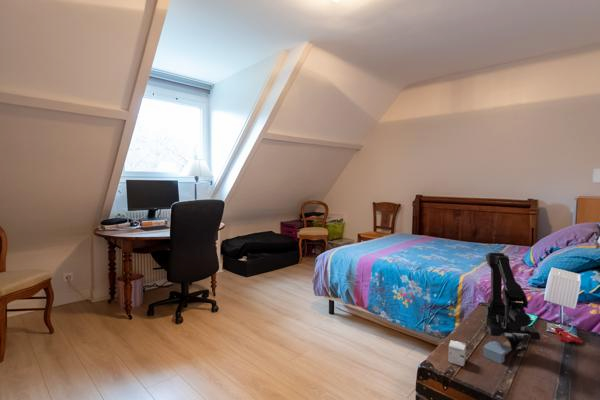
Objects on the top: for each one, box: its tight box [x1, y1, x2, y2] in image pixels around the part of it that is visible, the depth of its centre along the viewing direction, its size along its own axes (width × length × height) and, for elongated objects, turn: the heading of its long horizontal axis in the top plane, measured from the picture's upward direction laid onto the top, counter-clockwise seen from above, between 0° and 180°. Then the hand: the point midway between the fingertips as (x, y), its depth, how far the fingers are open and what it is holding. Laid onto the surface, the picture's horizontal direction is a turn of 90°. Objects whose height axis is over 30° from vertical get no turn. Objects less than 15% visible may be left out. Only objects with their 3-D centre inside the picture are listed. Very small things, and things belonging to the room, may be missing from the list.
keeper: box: [483, 340, 511, 365], centre depth 136 cm, size 8×9×4 cm
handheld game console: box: [525, 312, 538, 327], centre depth 170 cm, size 10×16×1 cm, turn 132°
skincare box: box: [447, 339, 467, 367], centre depth 133 cm, size 6×6×7 cm
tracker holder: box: [554, 326, 584, 345], centre depth 149 cm, size 12×4×10 cm
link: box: [502, 340, 521, 356], centre depth 141 cm, size 18×4×2 cm, turn 124°
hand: (512, 350), depth 138 cm, fingers closed
